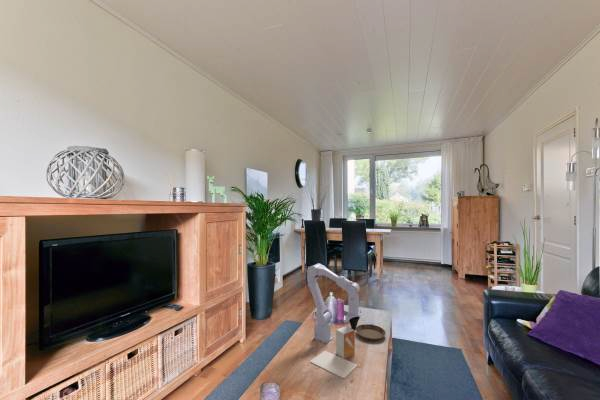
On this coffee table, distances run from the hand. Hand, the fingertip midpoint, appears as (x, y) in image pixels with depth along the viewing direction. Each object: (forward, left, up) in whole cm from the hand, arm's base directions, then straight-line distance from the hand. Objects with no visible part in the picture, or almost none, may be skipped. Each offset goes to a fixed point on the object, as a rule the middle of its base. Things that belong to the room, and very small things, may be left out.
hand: (353, 329), depth 149 cm
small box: (0, -9, -10) cm, 14 cm away
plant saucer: (+1, +19, -10) cm, 22 cm away
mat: (0, -20, -10) cm, 23 cm away
